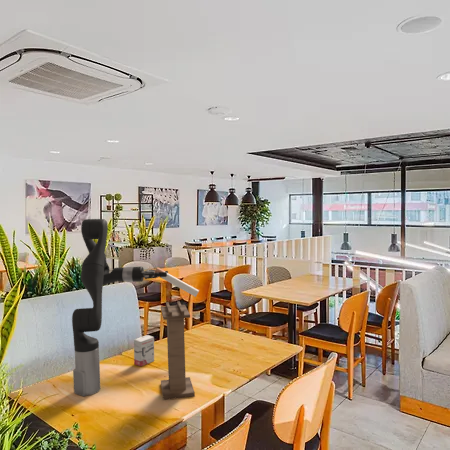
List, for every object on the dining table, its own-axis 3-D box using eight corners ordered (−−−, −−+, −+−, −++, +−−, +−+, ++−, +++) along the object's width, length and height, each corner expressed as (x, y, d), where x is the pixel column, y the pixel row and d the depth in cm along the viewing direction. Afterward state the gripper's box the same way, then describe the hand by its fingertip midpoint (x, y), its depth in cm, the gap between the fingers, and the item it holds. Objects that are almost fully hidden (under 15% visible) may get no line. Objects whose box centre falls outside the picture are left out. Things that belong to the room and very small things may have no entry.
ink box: (141, 367, 180) (140, 341, 179) (133, 364, 183) (133, 339, 182) (155, 360, 186) (154, 336, 186) (148, 358, 190) (147, 334, 189)
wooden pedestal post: (160, 383, 163) (158, 303, 161) (189, 379, 165) (187, 300, 164) (163, 401, 147) (160, 313, 145) (195, 397, 150) (192, 310, 148)
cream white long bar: (153, 273, 196) (156, 268, 195) (155, 272, 199) (157, 267, 199) (195, 297, 195) (198, 291, 195) (196, 295, 199) (199, 290, 198)
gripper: (129, 269, 191) (164, 268, 190) (136, 264, 205) (169, 264, 204) (129, 284, 191) (164, 284, 190) (137, 279, 205) (169, 278, 204)
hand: (167, 273), depth 197 cm, fingers closed on cream white long bar, 3 cm apart
